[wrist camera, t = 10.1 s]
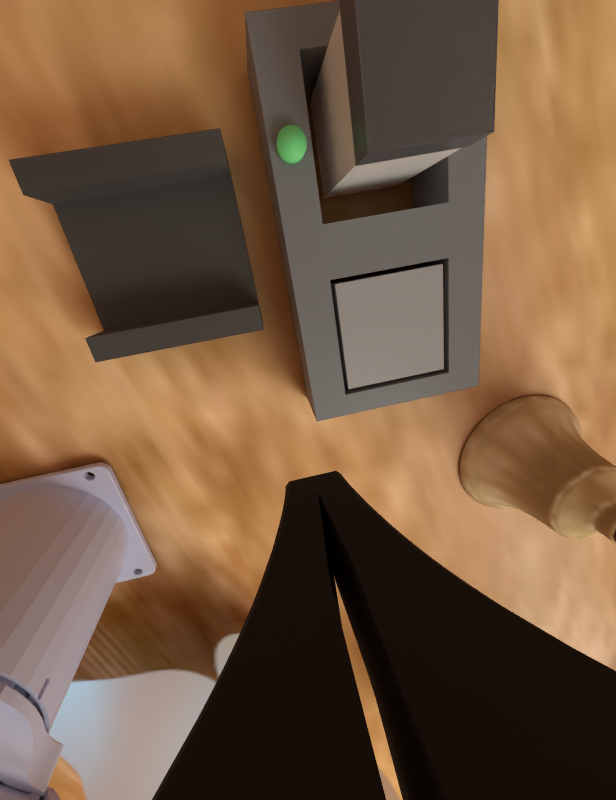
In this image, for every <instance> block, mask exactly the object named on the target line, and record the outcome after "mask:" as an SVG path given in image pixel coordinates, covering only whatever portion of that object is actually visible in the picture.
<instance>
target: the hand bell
mask: <svg viewBox="0 0 616 800" xmlns="http://www.w3.org/2000/svg"><path fill="white" fill-rule="evenodd" d="M460 478H461V482H462V485H463V487H464V489H465V490H466V492H467V493H468V495H469V496H470V497H472V498H473V499H474V500H475V501H477V502H479V503H481V504H483V505H485V506H489V507H492V508H497V509H518V510H521V511H523V512H525V513H527V514H529V515H531V516H533V517H534V518H536V519H538V520H539V521H541V522H542V523H544V524H545V525H547V526H548V527H550V528H551V529H552V530H554V531H555V532H557V533H558V534H560V535H562V536H564V537H568V538H573V539H584V538H589V537H592V536H595V535H597V534H600V533H601V534H603V535H605V536H606V537H607V538H609V539H610V540H612V541H613V542H615V543H616V466H614V465H613V464H611V463H610V462H609V461H607V460H606V459H604V458H603V457H601V456H600V455H599V454H598V453H596V452H595V451H594V450H593V449H592V448H591V447H590V446H589V445H588V444H587V443H586V442H585V441H584V440H583V439H582V432H581V427H580V424H579V422H578V419H577V417H576V416H575V414H574V413H573V411H572V410H571V409H570V408H569V407H568V406H567V405H566V404H565V403H563V402H562V401H560V400H558V399H555V398H552V397H549V396H544V395H539V396H535V395H532V396H526V397H521V398H518V399H515V400H512V401H509V402H508V403H506V404H504V405H502V406H500V407H498V408H497V409H495V410H494V411H492V412H491V413H490V414H489V415H488V416H486V417H485V418H484V419H483V420H482V421H481V422H480V423H479V424H478V426H477V427H476V428H475V429H474V431H473V432H472V434H471V435H470V436H469V438H468V440H467V442H466V444H465V447H464V449H463V452H462V455H461V459H460Z"/></svg>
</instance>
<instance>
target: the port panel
mask: <svg viewBox="0 0 616 800" xmlns="http://www.w3.org/2000/svg"><path fill="white" fill-rule="evenodd" d="M339 2H340V1H333V2H325V3H317V4H309V5H301V6H293V7H285V8H277V9H269V10H261V11H253V12H245V23H246V48H247V69H248V74H249V80H250V85H251V91H252V96H253V102H254V107H255V113H256V118H257V124H258V129H259V135H260V140H261V146H262V151H263V157H264V162H265V168H266V173H267V179H268V184H269V190H270V195H271V201H272V206H273V212H274V217H275V223H276V228H277V234H278V239H279V245H280V250H281V256H282V261H283V267H284V272H285V278H286V283H287V289H288V294H289V300H290V305H291V311H292V316H293V321H294V327H295V332H296V338H297V343H298V349H299V354H300V360H301V365H302V371H303V376H304V382H305V387H306V393H307V398H308V401H309V403H310V406H311V408H312V411H313V413H314V416H315V418H316V421H321V420H325V419H330V418H334V417H339V416H344V415H348V414H353V413H357V412H362V411H366V410H371V409H376V408H380V407H385V406H389V405H394V404H398V403H403V402H408V401H412V400H417V399H421V398H426V397H430V396H435V395H440V394H444V393H449V392H453V391H458V390H462V389H467V388H472V387H476V386H479V357H480V327H481V298H482V268H483V238H484V209H485V179H486V149H487V136H486V137H484V138H482V139H481V140H479V141H477V142H476V143H474V144H472V145H470V146H469V147H463V148H461V149H459V150H457V151H456V152H454V153H452V154H451V155H449V156H447V157H446V158H444V159H442V160H440V161H439V162H437V163H435V164H434V165H432V166H430V167H429V168H427V169H425V170H423V171H422V172H420V173H418V174H417V175H415V176H413V193H414V208H413V209H407V210H402V211H396V212H390V213H385V214H379V215H373V216H367V217H362V218H356V219H350V220H344V221H339V222H333V223H327V224H323V223H322V215H321V208H320V201H319V193H318V186H317V178H316V171H315V163H314V156H313V148H312V141H311V133H310V126H309V118H308V111H307V103H306V96H305V93H307V92H313V91H314V88H315V84H316V81H317V78H318V75H319V72H320V69H321V66H322V63H323V60H324V57H325V54H326V51H327V47H328V44H329V41H330V38H331V35H332V32H333V29H334V26H335V23H336V20H337V17H338V14H339V11H340V6H339ZM413 264H416V268H413V269H407V270H402V271H397V272H392V273H386V274H381V275H376V276H370V277H365V278H360V279H354V280H349V281H344V282H338V283H333V284H332V288H333V295H334V303H335V311H336V318H337V326H338V333H339V341H340V348H341V356H342V364H343V371H344V373H342V365H341V358H340V350H339V343H338V335H337V328H336V320H335V313H334V305H333V298H332V290H331V283H330V280H333V279H339V278H344V277H349V276H355V275H360V274H365V273H371V272H376V271H381V270H387V269H392V268H397V267H403V266H408V265H413Z"/></svg>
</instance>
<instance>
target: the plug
mask: <svg viewBox="0 0 616 800" xmlns="http://www.w3.org/2000/svg"><path fill="white" fill-rule="evenodd" d="M498 1H499V0H340V2H339V6H340V11H339V14H338V17H337V20H336V23H335V26H334V29H333V32H332V35H331V38H330V41H329V44H328V47H327V51H326V54H325V57H324V60H323V63H322V66H321V69H320V72H319V75H318V78H317V81H316V84H315V88H314V91H313V94H312V97H311V100H310V102H311V109H312V117H313V124H314V131H315V139H316V146H317V153H318V161H319V168H320V175H321V183H322V190H323V197H324V198H330V197H335V196H341V195H347V194H352V193H358V192H363V191H369V190H375V189H380V188H386V187H391V186H397V185H400V184H401V183H403V182H405V181H406V180H408V179H410V178H412V177H413V176H415V175H417V174H418V173H420V172H422V171H423V170H425V169H427V168H429V167H430V166H432V165H434V164H435V163H437V162H439V161H440V160H442V159H444V158H446V157H447V156H449V155H451V154H452V153H454V152H456V151H457V150H459V149H461V148H463V147H469V146H470V145H472V144H474V143H476V142H477V141H479V140H481V139H482V138H484V137H486V136H488V135H489V134H491V133H493V132H494V120H495V90H496V61H497V31H498Z"/></svg>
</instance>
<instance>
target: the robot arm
mask: <svg viewBox="0 0 616 800" xmlns="http://www.w3.org/2000/svg"><path fill="white" fill-rule="evenodd" d="M88 472H91V473H93V474H94V475H95V476H90V475H89V474H88ZM156 566H157V564H156V561H155V559H154V557H153V555H152V553H151V551H150V549H149V547H148V544H147V542H146V540H145V538H144V536H143V534H142V532H141V530H140V527H139V525H138V523H137V521H136V519H135V517H134V515H133V513H132V510H131V508H130V506H129V504H128V502H127V500H126V498H125V496H124V494H123V491H122V489H121V487H120V485H119V483H118V481H117V479H116V477H115V474H114V472H113V470H112V468H111V467H110V466H109V465H108V464H106V463H102V462H101V463H94V464H90V465H85V466H81V467H76V468H71V469H67V470H62V471H58V472H53V473H48V474H44V475H39V476H35V477H30V478H25V479H21V480H16V481H12V482H7V483H2V484H0V800H60V797H59V795H58V794H57V793H56V792H55V790H54V789H53V788H51V787H48V783H49V781H50V778H51V776H52V773H53V771H54V768H55V766H56V763H57V761H58V758H59V756H60V753H61V751H62V748H63V745H62V744H61V743H59V742H57V741H55V740H54V739H53V738H52V737H50V736H49V734H48V733H49V731H50V728H51V726H52V724H53V722H54V719H55V717H56V715H57V713H58V711H59V708H60V706H61V704H62V702H63V699H64V697H65V695H66V693H67V690H68V688H69V686H70V684H71V681H72V679H73V677H74V675H75V673H76V670H77V668H78V666H79V664H80V661H81V659H82V657H83V655H84V652H85V650H86V648H87V646H88V643H89V641H90V639H91V637H92V634H93V632H94V630H95V628H96V625H97V623H98V621H99V619H100V616H101V614H102V612H103V610H104V607H105V605H106V603H107V601H108V599H109V596H110V594H111V592H112V590H113V587H114V585H115V583H118V582H123V581H127V580H131V579H135V578H139V577H143V576H147V575H150V574H153V573H154V572H155V569H156ZM138 568H139V569H141V570H139V569H138ZM334 577H335V579H334ZM335 580H336V583H337V586H338V589H339V592H340V595H341V597H342V600H343V603H344V606H345V609H346V612H347V615H348V618H349V620H350V623H351V626H352V629H353V632H354V635H355V638H356V640H357V643H358V646H359V649H360V652H361V655H362V658H363V661H364V663H365V666H366V669H367V672H368V675H369V678H370V681H371V685H372V688H373V691H374V694H375V697H376V701H377V704H378V708H379V712H380V716H381V719H382V723H383V727H384V730H385V734H386V738H387V742H388V745H389V749H390V753H391V756H392V760H393V764H394V768H395V771H396V775H397V779H398V783H399V786H400V790H401V794H402V798H403V800H616V671H614V670H613V669H611V668H609V667H607V666H605V665H603V664H601V663H600V662H598V661H596V660H594V659H592V658H590V657H589V656H587V655H585V654H583V653H581V652H579V651H577V650H576V649H574V648H572V647H570V646H569V645H567V644H565V643H564V642H562V641H560V640H558V639H557V638H555V637H553V636H552V635H550V634H548V633H547V632H545V631H543V630H542V629H540V628H538V627H536V626H535V625H533V624H531V623H530V622H528V621H526V620H525V619H523V618H521V617H520V616H518V615H516V614H514V613H513V612H511V611H509V610H508V609H506V608H504V607H503V606H501V605H499V604H498V603H496V602H495V601H493V600H492V599H490V598H489V597H487V596H486V595H484V594H483V593H481V592H479V591H478V590H476V589H475V588H473V587H472V586H470V585H469V584H467V583H466V582H464V581H463V580H462V579H460V578H459V577H457V576H456V575H454V574H453V573H452V572H450V571H449V570H447V569H446V568H444V567H443V566H442V565H440V564H439V563H438V562H436V561H435V560H434V559H432V558H431V557H430V556H428V555H427V554H426V553H424V552H423V551H422V550H421V549H419V548H418V547H417V546H416V545H414V544H413V543H412V542H411V541H409V540H408V539H407V538H406V537H405V536H403V535H402V534H401V533H400V532H399V531H397V530H396V529H395V528H394V527H393V526H392V525H390V524H389V523H388V522H387V521H386V520H385V519H384V518H383V517H382V516H381V515H380V514H378V513H377V512H376V511H375V510H374V509H373V508H372V507H371V506H370V505H369V504H368V503H367V502H366V501H365V500H364V499H363V498H362V497H361V496H360V495H359V494H358V493H357V492H356V491H355V490H354V489H353V488H352V487H351V486H350V484H349V483H348V482H347V481H346V480H345V479H344V477H343V476H342V475H341V474H340V473H339V472H337V471H333V472H329V473H324V474H320V475H316V476H311V477H307V478H303V479H298V480H294V481H290V482H289V483H288V484H287V485H286V493H285V501H284V506H283V511H282V516H281V520H280V524H279V528H278V531H277V535H276V539H275V542H274V546H273V549H272V552H271V555H270V558H269V561H268V564H267V567H266V570H265V573H264V575H263V578H262V581H261V584H260V587H259V589H258V592H257V594H256V597H255V599H254V602H253V604H252V607H251V609H250V612H249V614H248V616H247V619H246V621H245V623H244V625H243V628H242V630H241V632H240V635H239V637H238V639H237V641H236V643H235V645H234V648H233V650H232V652H231V654H230V656H229V658H228V660H227V662H226V664H225V666H224V668H223V670H222V672H221V674H220V676H219V678H218V680H217V682H216V685H215V687H214V689H213V690H212V692H211V694H210V696H209V698H208V700H207V702H206V704H205V706H204V708H203V710H202V711H201V713H200V715H199V717H198V719H197V721H196V723H195V725H194V726H193V728H192V730H191V731H190V733H189V735H188V737H187V739H186V740H185V742H184V744H183V746H182V747H181V749H180V751H179V753H178V755H177V756H176V758H175V760H174V762H173V763H172V765H171V767H170V769H169V770H168V772H167V774H166V776H165V777H164V779H163V781H162V783H161V785H160V786H159V788H158V790H157V792H156V794H155V795H154V797H153V799H152V800H386V798H385V794H384V790H383V786H382V782H381V778H380V775H379V771H378V767H377V763H376V759H375V755H374V751H373V747H372V743H371V739H370V736H369V732H368V728H367V724H366V720H365V716H364V712H363V708H362V704H361V700H360V697H359V693H358V689H357V685H356V681H355V677H354V673H353V669H352V665H351V661H350V657H349V653H348V649H347V645H346V641H345V637H344V633H343V629H342V624H341V617H340V611H339V605H338V598H337V592H336V585H335Z"/></svg>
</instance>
